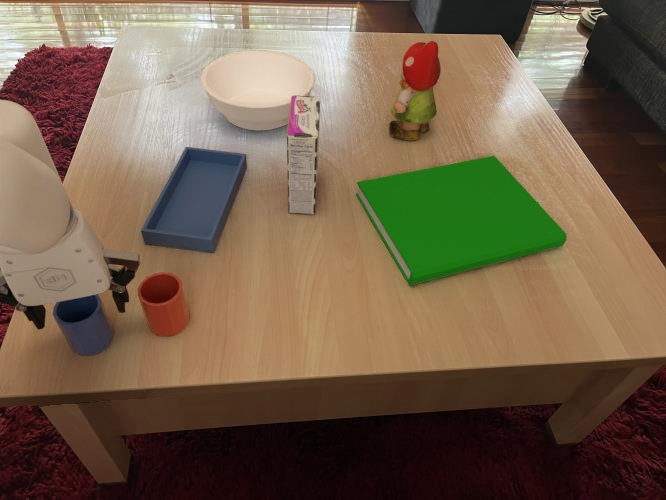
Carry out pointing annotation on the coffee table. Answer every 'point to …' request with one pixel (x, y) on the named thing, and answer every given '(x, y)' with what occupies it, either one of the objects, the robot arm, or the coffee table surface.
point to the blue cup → (84, 324)
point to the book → (456, 218)
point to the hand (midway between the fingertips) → (83, 312)
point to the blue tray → (196, 200)
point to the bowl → (256, 87)
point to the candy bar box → (303, 154)
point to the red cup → (164, 304)
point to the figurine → (416, 92)
